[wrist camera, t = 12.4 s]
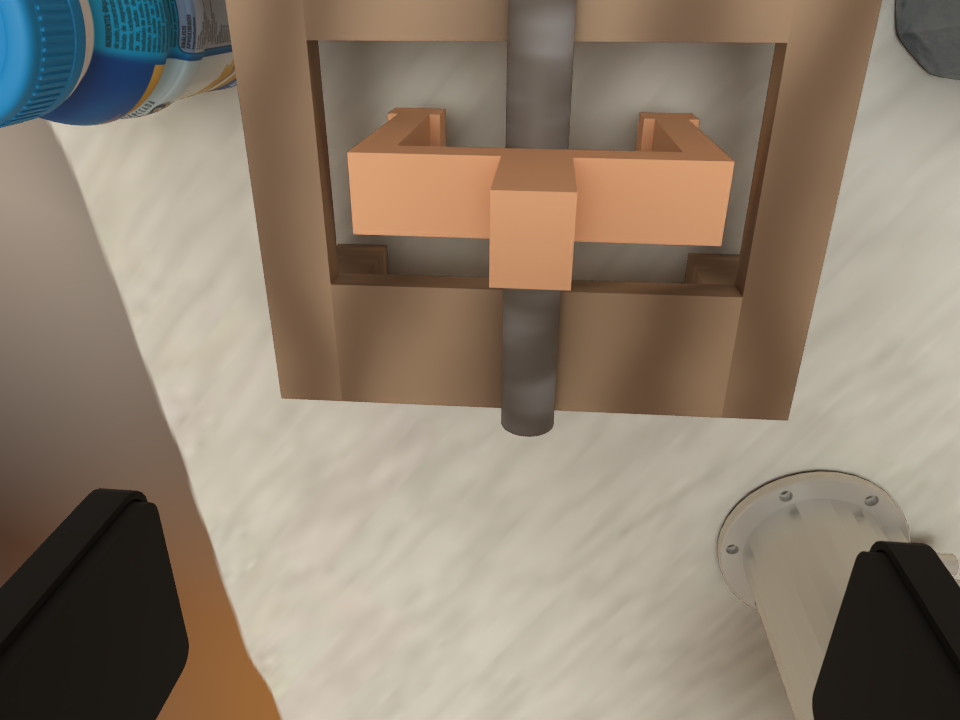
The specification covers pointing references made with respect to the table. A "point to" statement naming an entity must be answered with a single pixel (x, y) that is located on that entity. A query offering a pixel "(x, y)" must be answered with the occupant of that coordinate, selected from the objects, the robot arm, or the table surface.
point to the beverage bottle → (109, 57)
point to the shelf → (590, 304)
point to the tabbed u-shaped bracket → (540, 193)
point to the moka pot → (931, 34)
